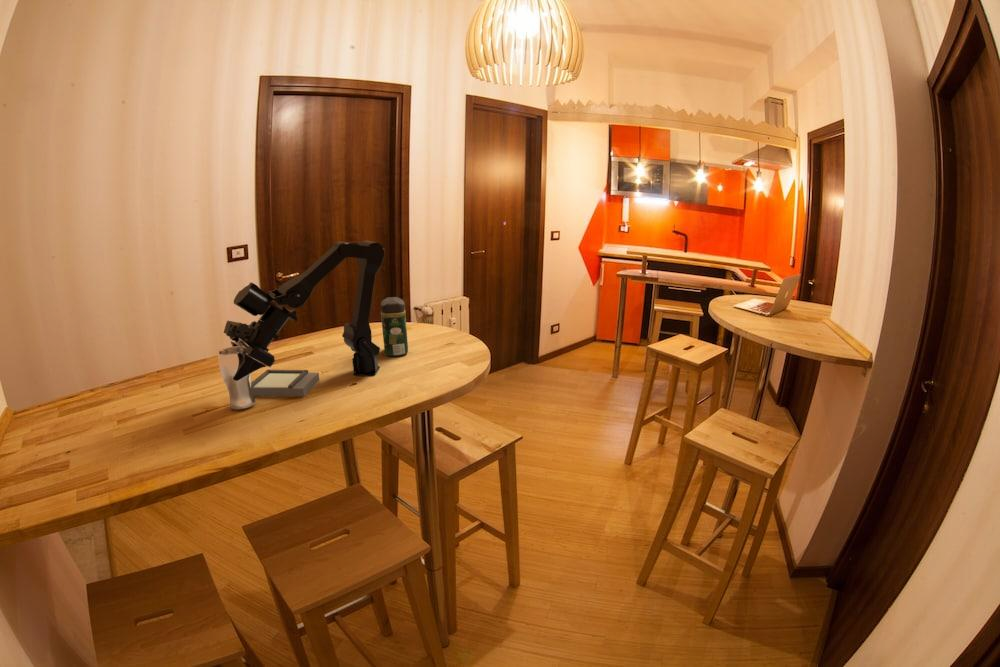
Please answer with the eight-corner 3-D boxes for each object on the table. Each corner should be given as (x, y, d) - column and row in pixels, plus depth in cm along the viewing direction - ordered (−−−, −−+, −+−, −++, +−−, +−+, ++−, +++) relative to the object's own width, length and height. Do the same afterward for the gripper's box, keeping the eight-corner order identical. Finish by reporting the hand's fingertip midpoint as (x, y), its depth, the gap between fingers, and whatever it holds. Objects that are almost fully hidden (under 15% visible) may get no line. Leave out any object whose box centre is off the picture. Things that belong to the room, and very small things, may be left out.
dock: (319, 380, 147) (318, 370, 146) (304, 396, 137) (302, 385, 136) (269, 380, 148) (267, 369, 147) (250, 396, 137) (248, 385, 136)
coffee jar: (384, 348, 173) (379, 296, 167) (407, 346, 175) (403, 294, 169) (384, 358, 164) (379, 303, 158) (409, 356, 166) (405, 301, 160)
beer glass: (261, 398, 135) (252, 345, 130) (250, 410, 128) (239, 354, 123) (235, 399, 134) (224, 346, 130) (222, 411, 128) (211, 355, 123)
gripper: (231, 301, 132) (192, 350, 129) (252, 316, 119) (210, 372, 116) (267, 323, 140) (231, 370, 137) (291, 340, 126) (252, 393, 123)
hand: (230, 375), depth 128 cm, fingers closed on beer glass, 6 cm apart
